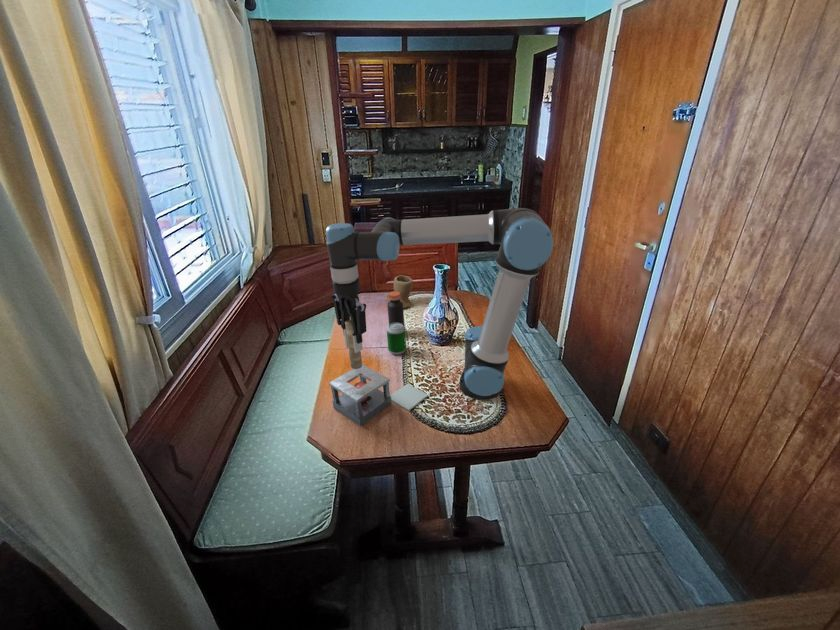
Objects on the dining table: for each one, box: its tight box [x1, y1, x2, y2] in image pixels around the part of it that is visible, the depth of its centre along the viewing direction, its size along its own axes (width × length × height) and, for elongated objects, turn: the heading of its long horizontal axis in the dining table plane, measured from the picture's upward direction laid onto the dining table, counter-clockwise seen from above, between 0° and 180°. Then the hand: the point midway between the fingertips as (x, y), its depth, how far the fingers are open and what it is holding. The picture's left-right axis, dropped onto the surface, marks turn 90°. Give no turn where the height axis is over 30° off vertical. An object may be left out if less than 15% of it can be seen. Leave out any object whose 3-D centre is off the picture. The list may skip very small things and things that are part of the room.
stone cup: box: [385, 274, 414, 309], centre depth 199 cm, size 15×12×15 cm
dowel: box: [345, 318, 363, 369], centre depth 120 cm, size 4×4×16 cm
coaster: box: [390, 383, 429, 412], centre depth 134 cm, size 10×10×1 cm
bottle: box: [387, 290, 405, 326], centre depth 169 cm, size 7×7×20 cm
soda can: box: [386, 323, 407, 356], centre depth 159 cm, size 8×8×12 cm
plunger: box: [353, 381, 368, 403], centre depth 129 cm, size 4×4×5 cm
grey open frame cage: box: [328, 363, 393, 427], centre depth 129 cm, size 14×14×10 cm
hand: (354, 348), depth 121 cm, fingers closed on dowel, 3 cm apart
